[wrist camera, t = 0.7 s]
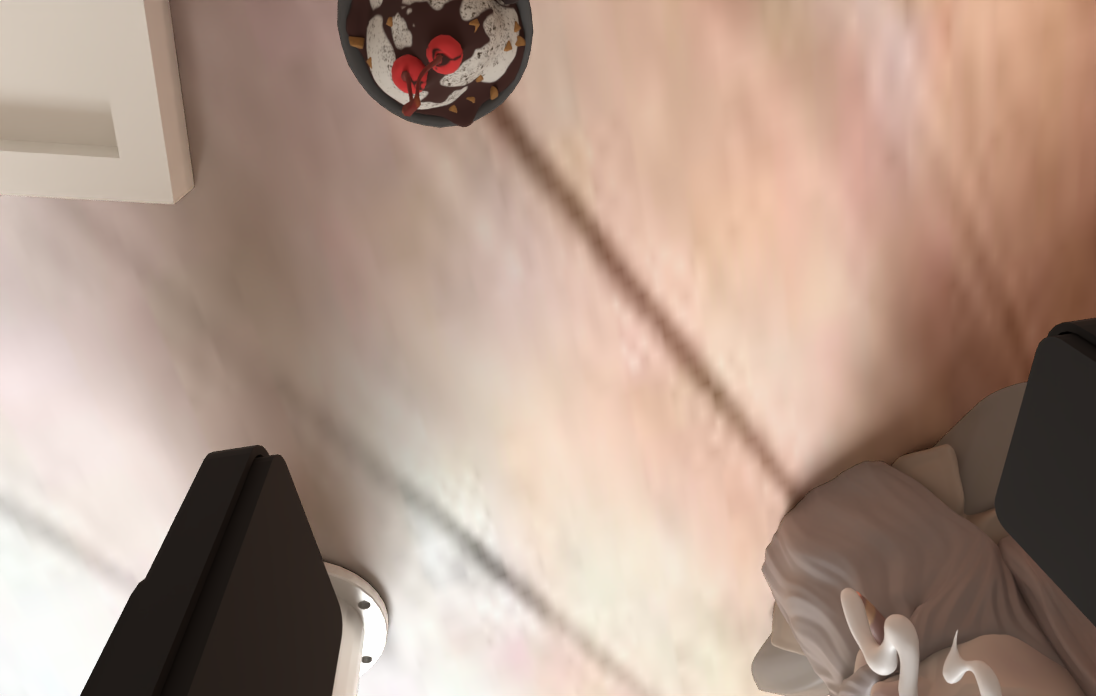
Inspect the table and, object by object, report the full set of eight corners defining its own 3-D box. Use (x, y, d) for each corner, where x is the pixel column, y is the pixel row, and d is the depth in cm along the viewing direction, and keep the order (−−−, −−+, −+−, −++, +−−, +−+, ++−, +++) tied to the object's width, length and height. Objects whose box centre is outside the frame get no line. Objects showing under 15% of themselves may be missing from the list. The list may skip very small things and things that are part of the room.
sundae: (390, 100, 35) (353, 179, 22) (350, -56, 32) (279, -73, 18) (522, 75, 35) (565, 140, 22) (496, -82, 32) (528, -117, 19)
